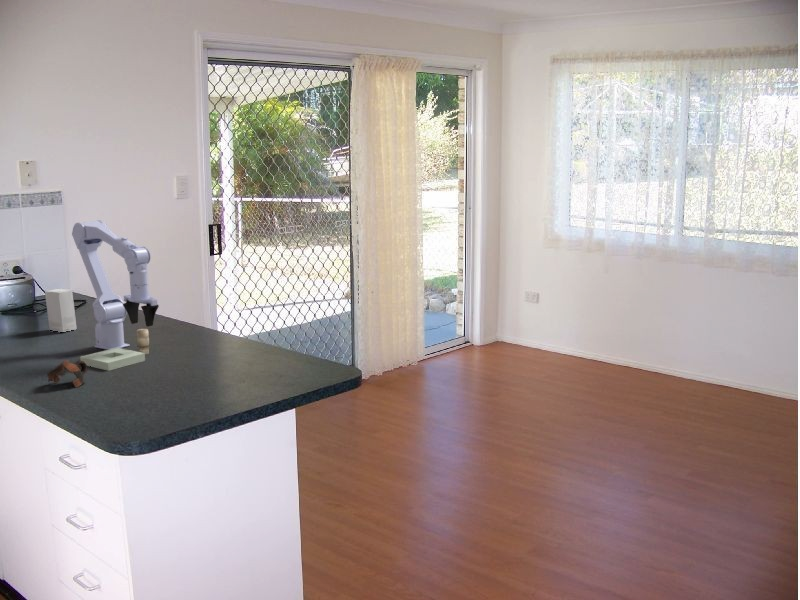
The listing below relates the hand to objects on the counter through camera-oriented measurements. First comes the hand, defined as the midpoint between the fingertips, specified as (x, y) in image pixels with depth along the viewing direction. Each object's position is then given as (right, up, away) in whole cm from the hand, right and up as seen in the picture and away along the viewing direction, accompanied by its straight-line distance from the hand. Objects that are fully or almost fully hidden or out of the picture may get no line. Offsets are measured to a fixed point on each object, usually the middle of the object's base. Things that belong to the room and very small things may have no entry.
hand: (142, 324), depth 276 cm
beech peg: (0, -10, +2) cm, 10 cm away
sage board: (-6, -12, -9) cm, 16 cm away
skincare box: (-41, -4, +37) cm, 55 cm away
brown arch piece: (-11, -17, -32) cm, 38 cm away
